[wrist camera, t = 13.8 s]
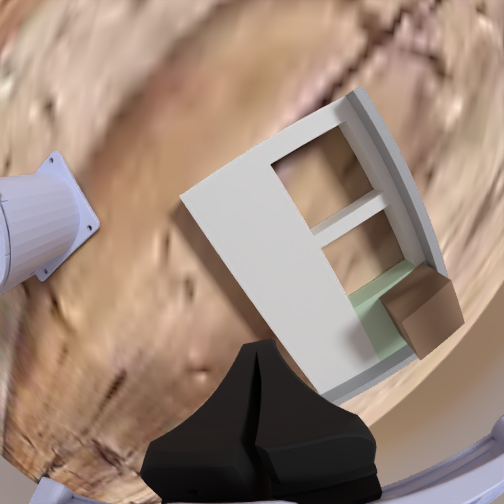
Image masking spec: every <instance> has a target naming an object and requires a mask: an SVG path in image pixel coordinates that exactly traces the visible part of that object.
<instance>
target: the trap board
mask: <svg viewBox="0 0 504 504" xmlns="http://www.w3.org/2000/svg"><path fill="white" fill-rule="evenodd" d="M337 125H338V127H339V128H340V130H341V131H342V133H343V135H344V136H345V138H346V140H347V141H348V143H349V145H350V147H351V148H352V150H353V152H354V154H355V155H356V157H357V159H358V161H359V163H360V164H361V166H362V168H363V170H364V172H365V174H366V176H367V178H368V179H369V181H370V183H371V185H372V187H373V190H372V191H370V192H369V193H367V194H365V195H364V196H362V197H361V198H359V199H357V200H356V201H354V202H353V203H351V204H349V205H348V206H346V207H345V208H343V209H341V210H340V211H338V212H337V213H335V214H333V215H332V216H330V217H328V218H327V219H325V220H324V221H322V222H320V223H319V224H317V225H316V226H314V227H312V228H311V229H309V227H308V225H307V224H306V222H305V220H304V219H303V217H302V215H301V214H300V212H299V210H298V209H297V207H296V205H295V204H294V202H293V200H292V199H291V197H290V196H289V194H288V192H287V191H286V189H285V187H284V186H283V184H282V183H281V181H280V179H279V178H278V176H277V175H276V173H275V172H274V170H273V168H272V167H271V165H270V164H272V163H273V162H275V161H277V160H278V159H280V158H282V157H283V156H285V155H287V154H288V153H290V152H292V151H293V150H295V149H297V148H298V147H300V146H302V145H304V144H305V143H307V142H309V141H311V140H312V139H314V138H316V137H318V136H319V135H321V134H323V133H325V132H326V131H328V130H330V129H332V128H334V127H335V126H337ZM179 197H180V198H181V200H182V201H183V203H184V204H185V206H186V207H187V209H188V210H189V212H190V213H191V215H192V216H193V218H194V219H195V221H196V222H197V224H198V225H199V227H200V228H201V229H202V231H203V232H204V234H205V235H206V237H207V238H208V240H209V241H210V243H211V244H212V246H213V247H214V248H215V250H216V251H217V253H218V254H219V256H220V257H221V259H222V260H223V262H224V263H225V264H226V266H227V267H228V269H229V270H230V272H231V273H232V274H233V276H234V277H235V279H236V280H237V282H238V283H239V284H240V286H241V287H242V289H243V290H244V291H245V293H246V294H247V296H248V297H249V298H250V300H251V301H252V303H253V304H254V305H255V307H256V308H257V310H258V311H259V312H260V314H261V315H262V317H263V318H264V319H265V321H266V322H267V324H268V325H269V326H270V328H271V329H272V330H273V332H274V333H275V335H276V336H277V337H278V339H279V340H280V341H281V343H282V344H283V345H284V347H285V348H286V350H287V351H288V352H289V354H290V355H291V356H292V358H293V359H294V360H295V362H296V363H297V364H298V366H299V367H300V368H301V370H302V371H303V372H304V374H305V375H306V376H307V378H308V379H309V380H310V382H311V383H312V384H313V386H314V387H315V388H316V390H317V391H318V392H319V394H320V395H321V396H322V397H323V398H325V399H326V400H328V401H329V402H331V403H333V404H335V405H336V406H338V405H340V404H342V403H344V402H345V401H347V400H349V399H351V398H353V397H355V396H357V395H359V394H360V393H362V392H364V391H366V390H368V389H369V388H371V387H373V386H374V385H376V384H378V383H380V382H381V381H383V380H385V379H386V378H388V377H389V376H391V375H393V374H394V373H396V372H397V371H399V370H401V369H402V368H404V367H405V366H407V365H408V364H410V363H411V362H413V361H414V360H416V359H417V358H418V356H417V355H416V354H415V353H414V351H413V350H412V349H411V348H410V346H409V345H408V344H407V343H406V342H405V340H404V339H403V338H402V337H401V335H400V334H399V332H398V331H397V329H396V327H395V325H394V323H393V321H392V320H391V318H390V316H389V314H388V313H387V311H386V309H385V307H384V306H383V304H382V302H381V300H380V299H379V297H380V296H381V295H383V294H384V293H385V292H387V291H388V290H389V289H390V288H392V287H393V286H394V285H395V284H397V283H398V282H399V281H400V280H402V279H403V278H404V277H405V276H407V275H408V274H409V273H410V272H411V271H413V270H414V269H415V268H416V267H417V266H419V265H420V264H421V263H422V262H423V263H424V264H426V265H427V266H429V267H431V268H432V269H434V270H436V271H437V272H439V273H440V274H442V275H444V276H445V277H447V278H448V274H447V270H446V267H445V264H444V260H443V257H442V254H441V250H440V247H439V244H438V241H437V238H436V235H435V232H434V230H433V227H432V224H431V221H430V219H429V216H428V213H427V211H426V208H425V206H424V203H423V201H422V198H421V196H420V193H419V191H418V189H417V186H416V184H415V182H414V179H413V177H412V175H411V173H410V171H409V169H408V166H407V164H406V162H405V160H404V158H403V156H402V154H401V152H400V150H399V148H398V146H397V144H396V142H395V140H394V138H393V137H392V135H391V133H390V131H389V129H388V127H387V126H386V124H385V122H384V120H383V118H382V117H381V115H380V113H379V112H378V110H377V108H376V107H375V105H374V103H373V102H372V100H371V98H370V97H369V95H368V94H367V92H366V90H365V89H364V87H363V86H361V87H359V88H357V89H355V90H353V91H352V92H350V93H349V94H347V95H346V96H344V97H342V98H340V99H338V100H336V101H335V102H333V103H331V104H329V105H327V106H325V107H323V108H321V109H319V110H317V111H315V112H314V113H312V114H310V115H308V116H306V117H304V118H303V119H301V120H299V121H297V122H295V123H294V124H292V125H290V126H288V127H287V128H285V129H283V130H281V131H280V132H278V133H276V134H275V135H273V136H271V137H269V138H268V139H266V140H264V141H263V142H261V143H259V144H258V145H256V146H255V147H253V148H251V149H250V150H248V151H246V152H245V153H243V154H242V155H240V156H239V157H237V158H235V159H234V160H232V161H231V162H229V163H228V164H226V165H224V166H223V167H221V168H220V169H218V170H217V171H215V172H214V173H212V174H211V175H209V176H208V177H206V178H205V179H203V180H202V181H200V182H199V183H198V184H196V185H195V186H193V187H192V188H190V189H189V190H187V191H186V192H185V193H183V194H182V195H180V196H179ZM382 209H383V210H384V212H385V214H386V216H387V218H388V220H389V223H390V225H391V227H392V229H393V232H394V234H395V236H396V239H397V241H398V243H399V246H400V248H401V251H402V253H403V256H404V258H405V259H404V260H402V261H401V262H399V263H398V264H397V265H395V266H394V267H392V268H391V269H389V270H388V271H386V272H385V273H383V274H382V275H380V276H379V277H377V278H376V279H374V280H373V281H371V282H370V283H368V284H367V285H365V286H363V287H362V288H360V289H359V290H357V291H356V292H354V293H352V294H351V295H349V296H348V297H347V295H346V293H345V291H344V289H343V288H342V286H341V284H340V282H339V280H338V278H337V276H336V275H335V273H334V271H333V269H332V267H331V266H330V264H329V262H328V260H327V258H326V257H325V255H324V253H323V251H322V250H321V248H322V247H324V246H325V245H327V244H329V243H330V242H332V241H333V240H335V239H337V238H338V237H340V236H341V235H343V234H345V233H346V232H348V231H349V230H351V229H352V228H354V227H356V226H357V225H359V224H360V223H362V222H363V221H365V220H367V219H368V218H370V217H371V216H373V215H374V214H376V213H377V212H379V211H381V210H382ZM448 279H449V278H448Z"/></svg>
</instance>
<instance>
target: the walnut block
mask: <svg viewBox="0 0 504 504" xmlns="http://www.w3.org/2000/svg"><path fill="white" fill-rule="evenodd" d="M379 299H380V300H381V302H382V304H383V306H384V307H385V309H386V311H387V313H388V314H389V316H390V318H391V320H392V321H393V323H394V325H395V327H396V329H397V331H398V332H399V334H400V335H401V337H402V338H403V339H404V340H405V342H406V343H407V344H408V345H409V346H410V348H411V349H412V350H413V351H414V353H415V354H416V355H417V356H418V358H419V359H420V360H422V359H423V358H424V357H426V356H427V355H428V354H429V353H431V352H432V351H433V350H434V349H436V348H437V347H438V346H439V345H440V344H441V343H443V342H444V341H445V340H446V339H447V338H448V337H450V336H451V335H452V334H453V333H454V332H455V331H456V330H457V329H459V328H460V327H461V326H462V325H463V324H464V323H465V322H464V319H463V315H462V312H461V309H460V305H459V302H458V299H457V296H456V293H455V290H454V287H453V285H452V282H451V280H450V279H448V278H447V277H445V276H444V275H442V274H440V273H439V272H437V271H436V270H434V269H432V268H431V267H429V266H427V265H426V264H424V263H423V262H422V263H421V264H420V265H419V266H417V267H416V268H415V269H414V270H413V271H411V272H410V273H409V274H408V275H407V276H405V277H404V278H403V279H402V280H400V281H399V282H398V283H397V284H395V285H394V286H393V287H392V288H390V289H389V290H388V291H387V292H385V293H384V294H383V295H381V296H380V297H379Z"/></svg>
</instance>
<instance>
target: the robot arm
mask: <svg viewBox="0 0 504 504" xmlns="http://www.w3.org/2000/svg"><path fill="white" fill-rule="evenodd" d="M52 158H53V162H52ZM89 225H90V226H91V227H92V230H90V229H89ZM99 228H100V221H99V219H98V218H97V216H96V214H95V213H94V211H93V210H92V208H91V206H90V205H89V203H88V201H87V200H86V198H85V196H84V195H83V193H82V191H81V189H80V188H79V186H78V184H77V182H76V181H75V179H74V177H73V175H72V173H71V172H70V170H69V168H68V166H67V164H66V162H65V161H64V159H63V157H62V155H61V153H60V152H59V151H54V152H52V153H51V155H50V156H49V157H48V158H47V159H46V160H45V162H44V163H43V164H42V165H41V166H40V167H39V169H38V170H37V171H36V172H35V174H28V175H18V176H10V177H2V178H0V295H2V294H3V293H5V292H7V291H8V290H10V289H11V288H13V287H15V286H16V285H18V284H20V283H21V282H23V281H25V280H26V279H28V278H30V277H31V276H33V275H35V274H36V276H37V277H38V279H39V280H40V281H42V282H43V281H44V280H46V279H47V278H48V277H49V276H50V275H51V274H52V273H53V272H54V271H55V270H56V269H57V268H58V267H59V266H60V265H61V264H62V263H63V262H64V261H65V260H66V259H67V258H68V257H69V256H70V255H71V254H72V253H73V252H74V251H75V250H76V249H77V248H78V247H79V246H80V245H81V244H83V243H84V242H85V241H86V240H87V239H88V238H89V237H90V236H91V235H92V234H94V233H95V232H96V231H97V230H98V229H99ZM46 270H47V271H46ZM47 272H48V273H47ZM375 453H376V441H375V439H374V437H373V435H372V433H371V432H370V430H369V429H368V427H367V426H366V425H365V423H364V422H363V421H362V420H361V419H360V417H359V416H358V415H356V414H354V413H351V412H349V411H346V410H344V409H342V408H340V407H338V406H336V405H335V404H333V403H331V402H329V401H328V400H326V399H325V398H323V397H322V396H320V395H319V394H317V393H316V392H315V391H313V390H312V389H311V388H310V387H308V386H307V385H306V384H305V383H304V382H303V381H302V380H301V379H300V378H299V377H298V376H297V375H296V374H295V373H294V372H293V371H292V369H291V368H290V367H289V366H288V364H287V363H286V362H285V360H284V359H283V357H282V356H281V354H280V353H279V351H278V349H277V347H276V343H275V340H273V339H267V340H262V341H257V342H252V343H247V344H243V346H242V347H241V349H240V351H239V353H238V355H237V357H236V359H235V361H234V363H233V365H232V366H231V368H230V370H229V372H228V373H227V375H226V376H225V378H224V379H223V381H222V382H221V384H220V385H219V387H218V388H217V389H216V391H215V392H214V393H213V394H212V396H211V397H210V398H209V399H208V400H207V401H206V402H205V403H204V404H203V405H202V406H201V407H200V408H199V409H198V410H197V411H196V412H195V413H194V414H193V415H191V416H190V417H189V418H188V419H187V420H185V421H184V422H183V423H181V424H180V425H178V426H177V427H176V428H174V429H173V430H171V431H170V432H168V433H166V434H164V435H163V436H161V437H159V438H157V439H156V440H154V441H152V442H150V444H149V447H148V449H147V451H146V455H145V458H144V461H143V464H142V468H141V471H140V475H141V478H142V479H143V481H144V482H145V483H146V484H147V485H148V486H149V487H150V488H151V489H152V490H153V491H154V492H155V493H156V494H157V495H158V496H159V497H160V498H162V502H161V504H489V503H490V502H492V501H493V500H494V499H496V498H497V497H498V496H500V495H501V494H502V493H503V492H504V415H503V416H502V417H501V418H499V420H498V421H497V422H496V423H495V425H494V426H493V429H492V431H491V433H490V434H488V435H487V436H485V437H484V438H482V439H481V440H479V441H478V442H476V443H474V444H473V445H471V446H469V447H468V448H466V449H464V450H463V451H461V452H459V453H457V454H456V455H454V456H452V457H450V458H448V459H446V460H444V461H442V462H440V463H438V464H436V465H434V466H432V467H430V468H428V469H426V470H424V471H421V472H419V473H417V474H415V475H412V476H410V477H408V478H405V479H403V480H400V481H398V482H395V483H392V484H390V485H387V486H384V487H381V486H380V483H379V480H378V477H377V475H376V474H377V469H376V466H375V464H374V460H375ZM29 504H111V503H106V502H102V501H98V500H94V499H91V498H87V497H84V496H80V495H77V494H74V493H73V492H72V491H71V490H70V489H69V488H67V487H66V486H65V485H63V484H62V483H60V482H57V481H54V480H52V479H49V478H46V477H42V479H41V481H40V483H39V485H38V487H37V488H36V490H35V492H34V495H33V496H32V499H31V500H30V503H29Z"/></svg>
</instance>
